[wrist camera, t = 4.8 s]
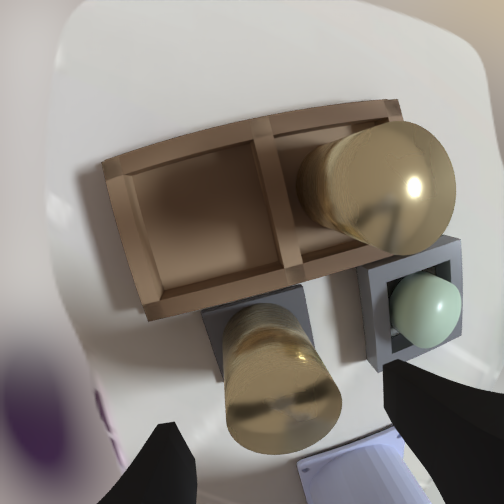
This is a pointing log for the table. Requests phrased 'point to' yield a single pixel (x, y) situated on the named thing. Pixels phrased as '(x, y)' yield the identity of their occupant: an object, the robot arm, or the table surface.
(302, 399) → the cylinder
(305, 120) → the brown wooden tray
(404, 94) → the table surface
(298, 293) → the mat
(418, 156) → the brass round-topped piece
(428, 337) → the button
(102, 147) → the table surface
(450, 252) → the button housing
